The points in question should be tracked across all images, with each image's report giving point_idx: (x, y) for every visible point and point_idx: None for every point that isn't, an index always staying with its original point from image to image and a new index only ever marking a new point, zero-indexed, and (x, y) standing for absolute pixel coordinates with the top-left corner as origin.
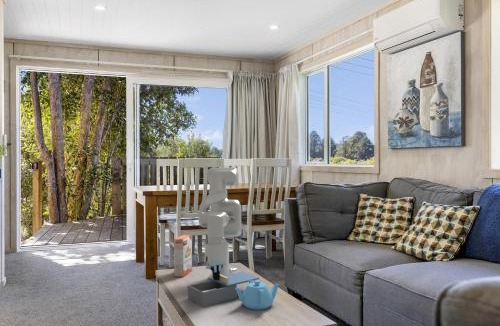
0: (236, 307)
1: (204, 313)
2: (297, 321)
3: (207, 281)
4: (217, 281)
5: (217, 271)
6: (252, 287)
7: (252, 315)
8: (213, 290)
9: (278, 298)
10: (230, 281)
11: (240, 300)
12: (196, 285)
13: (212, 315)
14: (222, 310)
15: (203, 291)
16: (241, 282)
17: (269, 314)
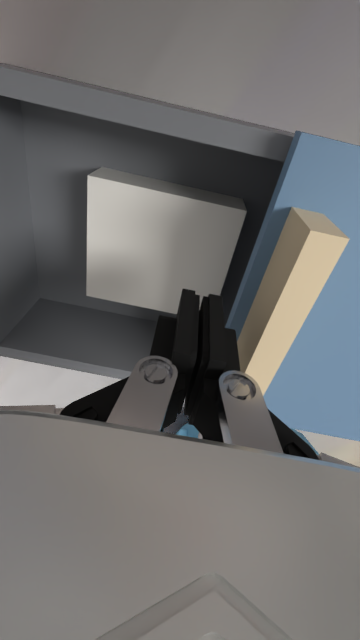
0: None
1: (3, 357)
2: None
3: (215, 129)
4: (247, 271)
5: (194, 407)
6: None
7: None
8: (78, 369)
9: (352, 459)
10: (283, 381)
11: (177, 432)
12: (45, 103)
13: (24, 389)
14: (88, 387)
15: (109, 190)
16: (316, 428)
17: None
